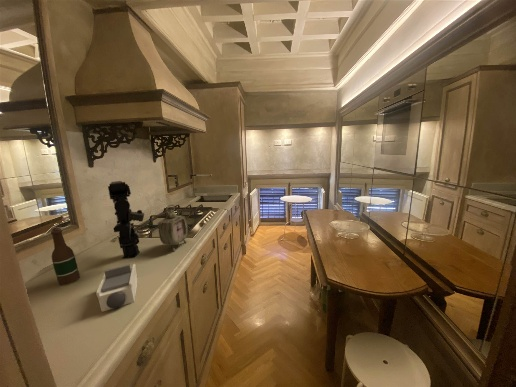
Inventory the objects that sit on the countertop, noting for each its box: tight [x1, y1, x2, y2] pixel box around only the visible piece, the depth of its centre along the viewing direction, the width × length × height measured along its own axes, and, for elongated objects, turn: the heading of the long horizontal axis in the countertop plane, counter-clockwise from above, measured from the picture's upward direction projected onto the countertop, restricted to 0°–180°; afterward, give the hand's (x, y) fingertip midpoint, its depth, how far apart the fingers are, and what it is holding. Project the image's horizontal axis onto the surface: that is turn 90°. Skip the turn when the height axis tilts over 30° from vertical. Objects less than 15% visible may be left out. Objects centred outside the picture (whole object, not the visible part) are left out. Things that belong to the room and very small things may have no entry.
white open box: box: [95, 263, 138, 312], centre depth 82 cm, size 17×10×8 cm, turn 25°
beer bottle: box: [50, 228, 81, 286], centre depth 93 cm, size 8×8×24 cm
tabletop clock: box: [157, 204, 189, 252], centre depth 120 cm, size 14×9×25 cm, turn 164°
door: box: [102, 263, 132, 292], centre depth 80 cm, size 9×8×4 cm
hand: (128, 239), depth 104 cm, fingers closed
